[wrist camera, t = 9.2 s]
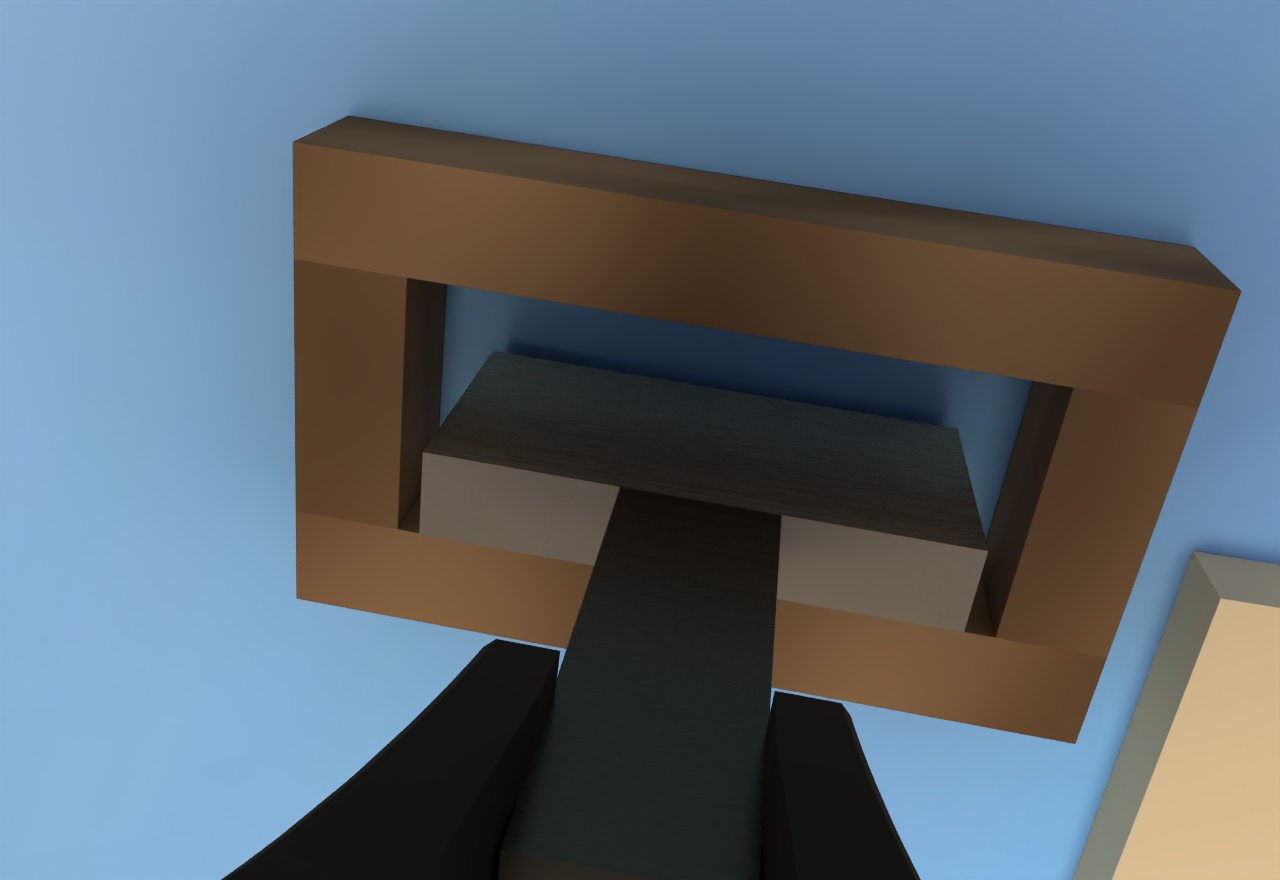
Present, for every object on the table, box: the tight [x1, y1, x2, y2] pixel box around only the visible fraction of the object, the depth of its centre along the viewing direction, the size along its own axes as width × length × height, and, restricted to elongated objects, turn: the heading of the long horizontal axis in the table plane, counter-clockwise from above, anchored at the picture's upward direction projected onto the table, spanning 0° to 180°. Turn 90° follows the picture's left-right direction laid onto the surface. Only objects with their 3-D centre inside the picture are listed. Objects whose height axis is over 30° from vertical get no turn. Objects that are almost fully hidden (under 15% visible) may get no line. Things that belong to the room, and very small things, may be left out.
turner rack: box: [293, 116, 1241, 744], centre depth 17 cm, size 12×7×2 cm, turn 83°
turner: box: [419, 351, 988, 880], centre depth 13 cm, size 7×1×10 cm, turn 83°
